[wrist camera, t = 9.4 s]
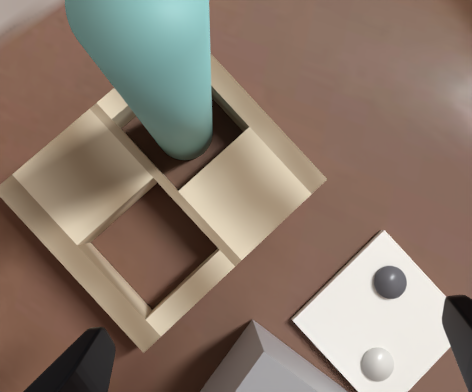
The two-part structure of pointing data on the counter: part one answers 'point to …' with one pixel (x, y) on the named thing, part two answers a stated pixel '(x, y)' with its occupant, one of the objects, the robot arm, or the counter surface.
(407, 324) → the pattern tile
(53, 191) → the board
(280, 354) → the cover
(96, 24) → the pin
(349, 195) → the counter surface
